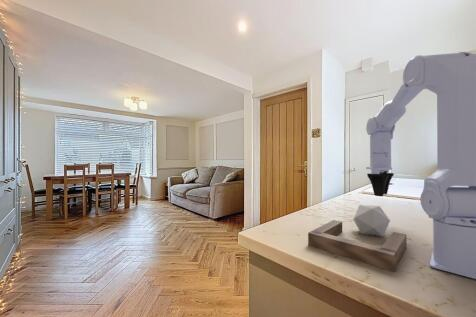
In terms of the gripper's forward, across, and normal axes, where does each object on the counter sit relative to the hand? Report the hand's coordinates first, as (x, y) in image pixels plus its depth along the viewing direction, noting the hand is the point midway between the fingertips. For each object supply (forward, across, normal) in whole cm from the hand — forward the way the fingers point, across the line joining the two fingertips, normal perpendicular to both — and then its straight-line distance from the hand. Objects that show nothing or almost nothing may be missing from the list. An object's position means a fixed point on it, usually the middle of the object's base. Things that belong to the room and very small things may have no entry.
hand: (380, 195), depth 68 cm
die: (+10, +13, 0) cm, 16 cm away
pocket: (+9, +25, 0) cm, 27 cm away
